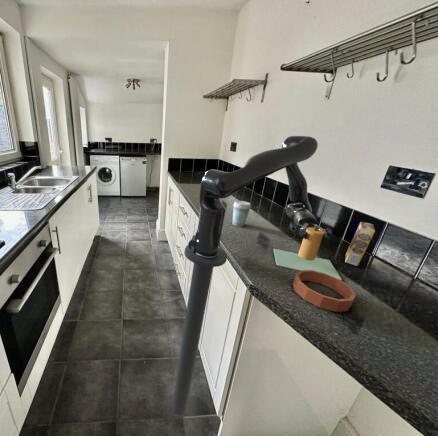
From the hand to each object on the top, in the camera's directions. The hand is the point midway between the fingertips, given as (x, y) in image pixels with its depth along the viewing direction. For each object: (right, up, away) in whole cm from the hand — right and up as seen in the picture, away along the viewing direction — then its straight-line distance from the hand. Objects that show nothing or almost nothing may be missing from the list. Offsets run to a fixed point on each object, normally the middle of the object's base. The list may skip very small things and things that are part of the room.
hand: (315, 238), depth 82 cm
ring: (-6, -16, -10) cm, 20 cm away
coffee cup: (-12, +4, +40) cm, 42 cm away
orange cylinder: (0, -7, +6) cm, 9 cm away
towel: (0, -10, +6) cm, 12 cm away
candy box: (+22, -10, +11) cm, 27 cm away
